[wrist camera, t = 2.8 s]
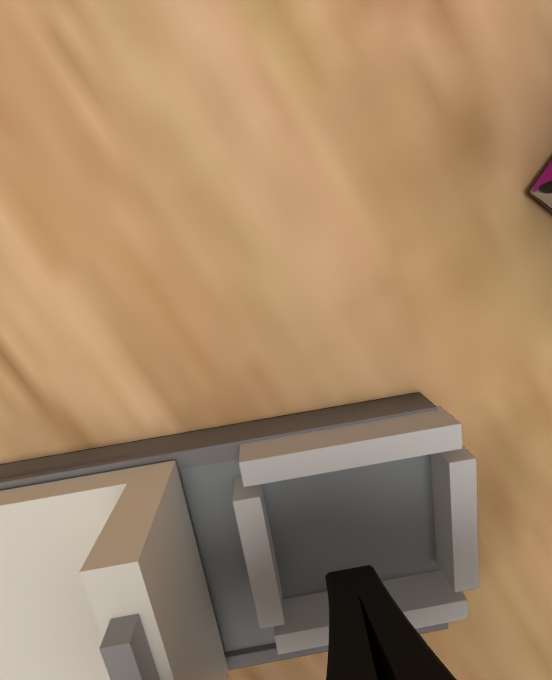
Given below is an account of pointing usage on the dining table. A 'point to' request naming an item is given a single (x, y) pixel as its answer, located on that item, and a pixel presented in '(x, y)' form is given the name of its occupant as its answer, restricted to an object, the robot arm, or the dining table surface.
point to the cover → (104, 581)
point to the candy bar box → (544, 188)
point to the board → (313, 515)
